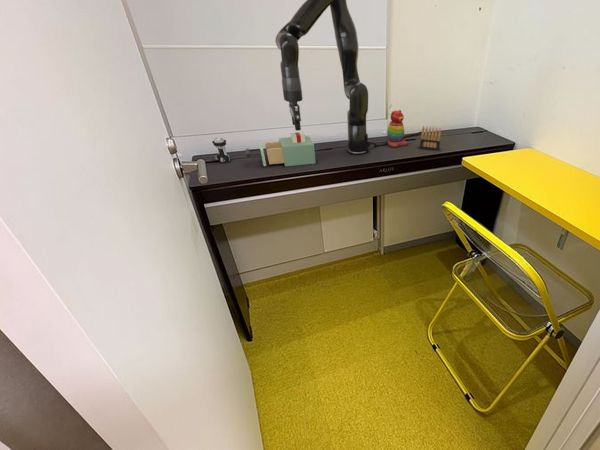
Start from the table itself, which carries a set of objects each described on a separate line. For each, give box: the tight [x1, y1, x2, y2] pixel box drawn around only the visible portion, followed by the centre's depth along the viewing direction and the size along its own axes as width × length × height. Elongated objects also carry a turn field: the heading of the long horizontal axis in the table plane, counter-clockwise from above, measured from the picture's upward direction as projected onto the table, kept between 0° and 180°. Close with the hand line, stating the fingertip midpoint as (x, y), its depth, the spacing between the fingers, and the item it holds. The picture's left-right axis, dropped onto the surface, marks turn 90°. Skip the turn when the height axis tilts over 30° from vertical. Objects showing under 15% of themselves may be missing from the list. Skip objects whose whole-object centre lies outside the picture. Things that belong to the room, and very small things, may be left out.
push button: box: [212, 137, 231, 163], centre depth 138 cm, size 7×5×10 cm
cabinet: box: [278, 135, 317, 168], centre depth 143 cm, size 14×12×9 cm
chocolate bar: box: [290, 131, 306, 143], centre depth 140 cm, size 6×4×3 cm
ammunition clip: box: [419, 125, 442, 151], centre depth 166 cm, size 11×2×12 cm, turn 83°
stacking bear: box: [386, 109, 408, 148], centre depth 168 cm, size 11×10×18 cm
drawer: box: [245, 140, 284, 167], centre depth 139 cm, size 18×11×7 cm, turn 114°
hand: (296, 127), depth 138 cm, fingers open, 8 cm apart
